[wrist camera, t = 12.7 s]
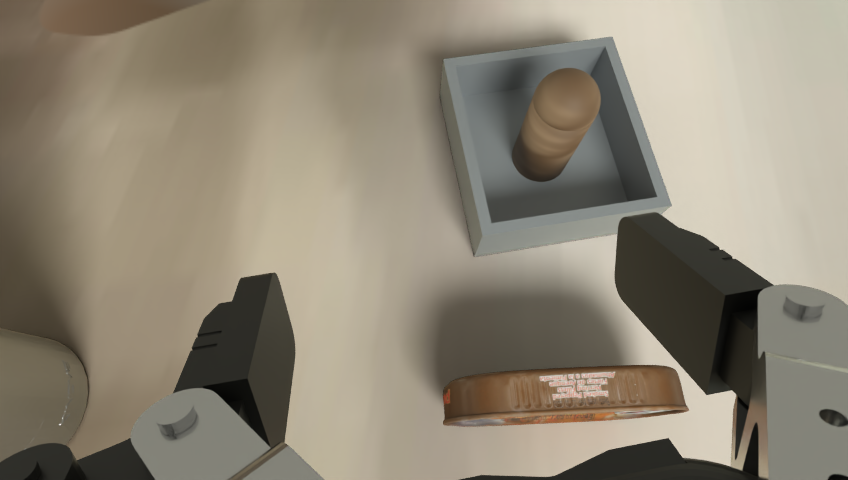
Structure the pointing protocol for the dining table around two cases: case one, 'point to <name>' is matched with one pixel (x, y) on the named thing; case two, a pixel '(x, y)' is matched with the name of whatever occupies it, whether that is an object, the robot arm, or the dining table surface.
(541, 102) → the pepper mill
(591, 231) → the bin
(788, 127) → the dining table surface
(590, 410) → the tin
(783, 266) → the dining table surface
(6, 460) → the robot arm
